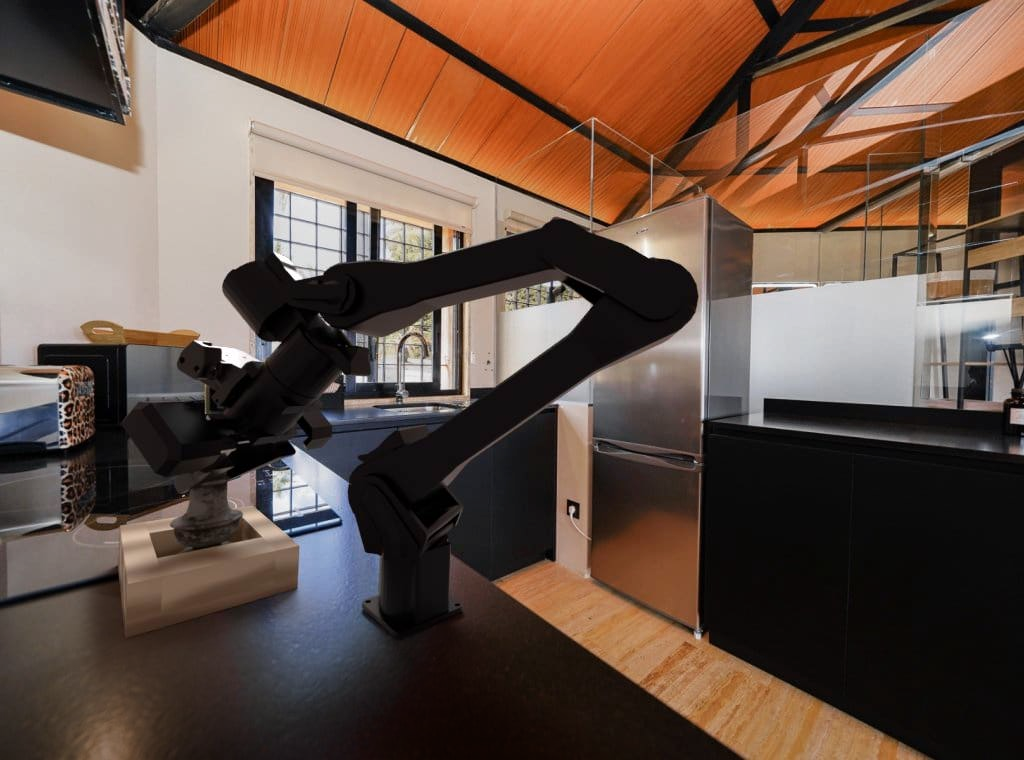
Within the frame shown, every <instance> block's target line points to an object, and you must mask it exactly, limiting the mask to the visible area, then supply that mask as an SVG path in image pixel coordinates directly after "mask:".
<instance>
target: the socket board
mask: <svg viewBox="0 0 1024 760" xmlns="http://www.w3.org/2000/svg"><path fill="white" fill-rule="evenodd" d="M232 509H234V510H239V511H241V512H242V513H243V517H242V518H240V519H239V525H238V528H237V530H236V532H235V533H234V534H233V535H232V536H231V537H230V538H229V539H228V540H226V541H228V542H231V544H226V545H221V546H216V547H211V548H206V549H201V550H196V551H191V552H186V553H181V554H178V553H179V552H181V551H182V550H184V549H186V548H188V547H186V546H184V545H182V544H181V543H179V542H178V540H177V538H176V537H175V534H174V528H172V527H171V526H170V523H171V522H172V520H174V519H176V518H178V517H179V516H175V517H169V518H161V519H156V520H148V521H142V522H135V523H129V524H122V525H119V533H118V534H119V535H118V555H117V556H118V557H117V569H118V579H119V590H120V591H119V592H120V598H121V599H120V600H121V601H120V602H121V607H122V608H121V611H122V621H123V628H124V630H123V631H124V639H128V638H131V637H135V636H137V635H143V634H145V633H148V632H152V631H155V630H159V629H162V628H166V627H168V626H172V625H175V624H176V625H177V624H179V623H182V622H186V621H190V620H193V619H196V618H201V617H202V616H206V615H210V614H213V613H217V612H220V611H223V610H227V609H230V608H234V607H237V606H241V605H244V604H248V603H251V602H255V601H259V600H261V599H264V598H268V597H272V596H275V595H279V594H282V593H285V592H290V591H291V590H296V589H298V588H299V568H300V567H299V565H300V545H299V544H298V543H297V542H296V541H295V540H294V539H293V538H292V537H291V536H289V535H288V534H287V533H286V532H284V531H283V530H282V529H281V528H280V527H278V526H277V525H276V524H275V523H274V522H272V521H271V519H269V518H268V517H267V516H265V515H264V514H263V513H262V512H261V511H260V510H258V509H257V508H256V507H255V506H254V505H247V506H241V507H235V508H234V507H233V508H232Z"/></svg>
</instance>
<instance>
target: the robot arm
mask: <svg viewBox="0 0 1024 760" xmlns="http://www.w3.org/2000/svg"><path fill="white" fill-rule="evenodd" d="M551 282H559V283H561V284H562V285H564V286H566V287H568V288H569V289H571V290H572V291H573V292H574V293H576V294H577V295H579V297H581V298H582V299H584V300H585V301H586V302H587V303H588V304H590V305H591V307H590V308H589V310H587V311H586V313H585V314H584V315H583V316H582V318H581V319H580V320H579V322H578V323H576V325H575V326H574V327H573V329H571V331H570V332H569V333H567V335H565V336H564V337H562V338H561V339H560V340H559V341H556V342H555V343H554V344H553V345H551V346H549V347H548V348H547V349H546V350H544V351H542V352H541V353H540V354H539V355H537V356H536V357H535V358H533V359H532V360H531V361H529V362H528V363H527V364H525V365H524V366H522V367H521V368H519V369H518V370H517V371H515V372H513V374H511V375H510V376H508V377H507V378H505V379H504V380H502V382H500V383H498V384H497V385H496V386H494V387H493V388H492V389H491V390H489V391H487V392H486V393H485V394H483V395H482V396H481V397H479V398H478V399H476V400H475V401H474V402H472V403H471V404H469V405H468V406H466V407H465V408H464V409H462V410H461V411H460V412H458V413H457V414H456V415H454V416H453V417H451V418H450V419H448V421H446V422H445V423H443V424H442V425H440V426H439V427H438V428H436V429H434V430H433V431H431V432H430V430H429V427H428V426H427V425H428V424H422V425H416V426H411V427H405V428H401V429H396V430H394V431H393V432H392V433H391V434H389V435H388V436H386V437H385V438H384V440H382V442H381V443H380V444H379V445H378V446H377V447H376V448H375V449H373V450H371V451H369V452H366V453H362V454H359V455H358V456H357V460H359V461H360V462H363V463H361V464H359V465H357V466H356V468H354V470H353V471H352V472H351V473H350V475H349V477H348V479H347V482H348V487H347V498H348V499H347V501H348V504H349V507H350V510H351V512H352V514H353V515H354V517H355V521H356V525H357V529H358V531H359V532H358V533H359V536H360V538H361V539H360V540H361V543H362V546H363V550H364V552H365V553H366V554H370V555H378V556H379V569H378V572H379V573H378V595H375V596H372V597H368V598H366V599H363V600H362V601H361V608H362V609H363V611H365V612H366V613H367V614H368V615H369V616H370V617H372V618H373V619H374V620H375V621H376V622H377V623H378V624H380V625H381V626H382V628H384V629H385V630H386V631H387V632H388V633H389V634H390V635H392V636H393V637H395V638H396V639H402V638H404V637H407V636H409V635H412V634H414V633H416V632H419V631H420V630H423V629H426V628H428V627H429V626H432V625H434V624H437V623H439V622H441V621H443V620H445V619H448V618H450V617H452V616H455V615H457V614H458V613H461V612H463V610H464V603H463V602H462V601H460V600H458V599H457V598H456V597H453V596H452V595H450V584H451V583H450V581H451V556H452V555H451V552H452V548H451V547H452V543H451V542H450V541H449V534H447V533H448V532H449V531H450V530H451V529H453V528H454V527H456V526H457V525H458V523H459V520H460V517H461V515H462V513H463V510H464V505H463V504H462V502H461V501H460V500H459V499H458V497H456V495H455V494H454V492H452V491H451V489H450V488H449V487H448V486H450V484H451V483H452V482H453V481H454V479H455V478H457V476H458V475H459V474H460V472H462V471H463V469H464V468H465V466H466V465H468V463H469V462H470V461H472V460H473V459H474V458H476V457H477V456H479V455H480V454H481V453H482V452H484V451H486V450H487V449H489V448H491V447H492V446H493V445H494V444H495V443H498V441H500V440H502V439H503V438H504V437H506V436H507V435H509V434H510V433H512V432H513V431H515V430H516V429H517V428H519V427H520V426H522V425H523V424H525V423H526V422H528V421H529V420H530V419H532V418H533V417H535V416H537V415H538V414H539V413H540V412H542V411H543V410H545V409H546V408H547V407H549V406H551V405H552V404H554V403H555V402H556V401H558V400H559V399H561V398H562V397H564V396H565V395H567V394H568V393H569V392H571V391H572V390H574V389H575V388H577V387H578V386H580V385H581V384H582V383H584V382H585V381H587V380H588V379H590V378H591V377H592V376H594V375H595V374H598V373H599V372H601V371H603V370H606V369H608V368H611V367H613V366H615V365H617V364H620V363H622V362H625V361H626V360H629V359H631V358H634V357H635V356H638V355H640V354H643V353H644V352H646V351H649V350H651V349H653V348H655V347H657V346H659V345H662V344H664V343H665V342H667V341H669V340H670V339H671V338H672V337H675V335H676V334H677V333H679V331H681V330H682V329H683V328H684V327H685V326H686V325H687V324H688V323H689V322H690V321H692V319H693V318H694V315H695V314H696V312H697V308H698V304H699V303H698V301H699V291H698V285H697V283H696V281H695V279H694V277H693V275H692V273H691V272H690V271H689V270H688V269H687V268H686V267H685V266H683V265H682V264H680V263H678V262H676V261H674V260H671V259H668V258H659V257H655V256H652V257H647V256H646V255H644V254H642V253H640V252H639V251H637V250H635V249H634V248H632V247H631V246H629V245H627V244H624V243H622V242H619V241H616V240H613V239H611V238H607V237H604V236H601V235H599V234H597V233H596V234H595V233H592V232H590V231H589V230H587V229H585V228H584V227H581V226H580V225H578V224H577V223H575V222H574V221H572V220H569V219H565V218H553V219H552V220H550V221H548V222H545V224H543V225H542V226H538V227H535V228H532V229H528V230H524V231H520V232H516V233H513V234H509V235H505V236H502V237H499V238H498V237H497V238H494V239H490V240H488V241H483V242H480V243H477V244H473V245H469V246H464V247H461V248H458V249H455V250H454V249H453V250H451V251H447V252H443V253H439V254H436V255H431V256H428V257H425V258H421V259H417V260H411V261H409V260H408V261H394V260H382V259H368V260H365V259H364V260H355V261H342V262H338V263H335V264H333V265H331V266H329V267H328V268H327V269H326V270H325V271H323V274H321V275H317V276H311V277H306V278H303V276H301V274H300V273H299V272H298V270H297V268H296V266H295V265H294V263H293V262H292V261H291V260H290V259H289V258H288V257H286V256H283V255H281V254H279V253H277V252H274V251H271V252H269V254H268V255H267V256H266V257H265V259H257V260H253V261H249V262H246V263H244V264H242V265H240V266H238V267H236V268H233V269H231V270H230V271H229V272H228V273H227V274H226V276H225V277H224V279H223V282H222V285H221V289H222V293H223V296H224V297H225V298H226V299H227V301H228V302H229V303H230V305H231V306H232V307H233V309H234V310H236V312H237V313H238V314H239V315H240V317H241V318H242V319H243V320H244V321H245V323H246V324H247V325H248V326H249V327H250V329H251V330H252V331H253V333H254V334H255V336H256V337H258V338H259V339H260V340H261V341H263V342H267V343H276V342H279V345H278V346H276V348H275V349H274V350H273V352H272V353H271V354H270V355H269V356H268V357H267V358H266V360H264V361H261V360H259V359H258V358H256V357H254V356H252V355H250V354H249V353H247V352H245V351H242V350H240V349H238V348H233V347H227V346H217V345H213V343H212V342H211V341H205V340H198V339H197V340H196V339H193V340H192V341H190V343H189V344H187V346H186V347H185V348H184V349H182V350H181V352H180V354H179V357H178V358H177V361H176V367H177V369H178V371H180V372H181V373H182V374H184V375H186V376H188V377H189V378H190V379H192V380H193V381H194V380H197V381H199V382H201V383H202V384H204V385H205V386H208V388H210V389H212V390H214V391H215V392H214V393H213V394H212V395H211V399H212V400H213V402H214V403H215V405H216V406H217V407H221V408H223V409H224V411H223V412H221V413H208V414H207V415H206V417H205V415H204V414H203V413H202V411H201V410H200V409H199V407H198V406H197V405H196V403H195V402H194V401H191V400H169V401H167V400H166V401H165V400H163V401H159V400H158V401H138V402H137V403H136V404H135V405H134V406H133V408H132V409H131V410H130V411H129V412H128V414H127V415H126V416H125V417H124V419H123V420H122V422H120V425H121V427H122V428H123V429H124V430H125V432H126V434H127V435H128V436H129V438H130V439H131V441H132V442H133V444H134V445H135V447H136V448H137V449H138V451H139V452H140V454H141V456H142V457H143V458H144V460H145V461H146V462H147V465H148V466H149V467H150V468H151V470H152V471H153V472H154V474H156V475H159V476H161V477H165V478H171V477H175V480H174V485H173V486H174V488H175V490H176V491H177V493H178V494H180V495H181V494H185V493H186V492H188V491H189V492H190V490H191V489H193V488H195V487H197V486H199V485H201V484H203V483H205V482H206V481H208V480H210V479H212V478H214V477H216V476H218V475H219V474H222V473H223V472H225V471H227V475H228V476H230V477H231V479H230V480H229V481H228V482H230V481H232V480H234V479H237V478H240V477H241V476H244V475H247V474H249V473H251V472H254V471H256V470H259V469H261V468H264V467H266V466H268V465H271V464H274V463H276V462H278V461H281V460H283V459H286V458H288V457H292V456H294V455H295V454H296V452H297V450H296V449H295V447H294V446H293V444H291V441H292V440H293V439H294V438H295V437H296V436H297V435H298V431H299V430H302V431H303V432H304V434H305V435H306V436H307V437H306V438H305V440H303V442H302V446H303V448H304V449H305V450H306V451H310V450H315V449H320V448H323V447H324V446H325V445H326V444H327V443H328V442H329V440H330V439H331V438H332V437H333V425H332V423H331V422H330V420H329V419H328V418H327V417H326V416H325V415H324V414H323V412H322V411H321V408H323V406H324V405H325V404H324V403H323V401H322V400H321V399H320V398H321V396H322V395H324V393H325V392H326V391H327V389H328V388H329V387H330V386H331V385H332V384H333V383H334V382H335V381H336V380H337V379H338V378H339V377H340V375H341V374H342V373H343V375H345V376H352V377H366V378H367V377H370V376H371V375H372V369H371V366H372V365H371V362H370V351H371V350H370V348H369V347H367V346H361V345H355V344H354V342H352V340H351V339H350V338H349V337H348V335H346V334H345V332H344V331H347V332H349V333H354V334H359V335H362V336H366V337H367V336H368V337H370V338H376V339H377V338H385V337H387V336H390V335H393V334H395V333H397V332H400V331H401V330H404V329H406V328H408V327H410V326H413V325H414V324H416V323H417V322H419V320H420V321H421V319H422V318H424V317H425V316H426V315H428V314H431V313H433V312H435V311H437V310H441V309H443V308H449V307H452V306H457V305H460V304H464V303H465V304H466V303H468V302H473V301H477V300H481V299H485V298H490V297H494V296H498V295H502V294H506V293H510V292H514V291H517V290H522V289H526V288H532V287H535V286H539V285H544V284H547V283H551ZM319 314H320V315H319Z"/></svg>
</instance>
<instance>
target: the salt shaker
mask: <svg viewBox="0 0 1024 760" xmlns="http://www.w3.org/2000/svg"><path fill="white" fill-rule="evenodd" d="M230 479H231V477H230V476H228V475H227V471H225V472H223V473H222V474H219V475H218V476H216V477H214V478H212V479H210V480H208V481H206V482H205V483H203V484H201V485H199V486H197V487H195V488H193V489H191V490H189V503H188V506H187V509H186V511H185V513H184V514H183V515H181V516H177V517H178V518H176V519H174V520H172V522H171V523H170V526H171V527H172V528H174V534H175V537H176V538H177V540H178V542H179V543H181V544H182V545H184V546H186V547H188V548H186V549H184V550H182V551H181V552H179V553H178V554H181V553H186V552H191V551H196V550H201V549H206V548H211V547H216V546H221V545H226V544H231V542H228V541H226V540H228V539H229V538H230V537H231V536H232V535H233V534H234V533H235V532H236V530H237V528H238V525H239V519H240V518H242V517H243V513H242V512H241V511H239V510H234V509H233V508H232V507H230V505H229V500H228V482H230V481H231V480H230ZM229 480H230V481H229Z"/></svg>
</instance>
